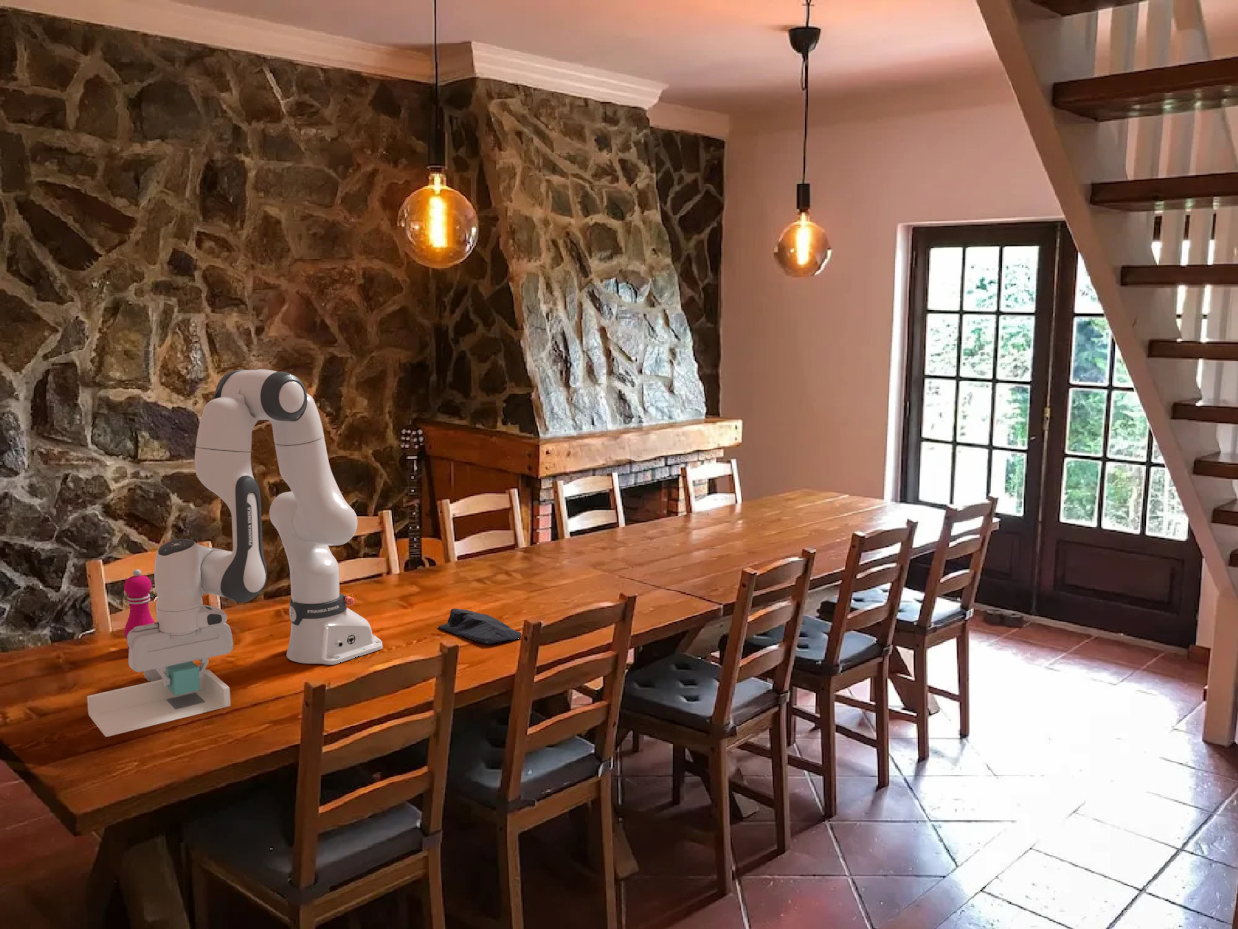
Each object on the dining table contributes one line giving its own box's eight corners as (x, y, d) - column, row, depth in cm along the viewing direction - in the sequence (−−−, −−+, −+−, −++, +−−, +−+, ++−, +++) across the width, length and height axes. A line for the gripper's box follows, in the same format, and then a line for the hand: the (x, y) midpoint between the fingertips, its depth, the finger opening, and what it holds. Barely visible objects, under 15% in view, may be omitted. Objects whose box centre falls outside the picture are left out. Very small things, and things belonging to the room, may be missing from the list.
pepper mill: (164, 648, 247) (159, 568, 244) (136, 657, 241) (130, 575, 238) (147, 642, 251) (142, 563, 248) (119, 650, 245) (113, 570, 242)
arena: (209, 690, 223) (207, 669, 222) (230, 710, 213) (229, 687, 212) (88, 719, 207) (87, 696, 207) (106, 741, 198) (104, 717, 197)
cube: (192, 682, 218) (191, 660, 217) (200, 690, 214) (198, 667, 213) (167, 688, 214) (166, 665, 213) (175, 695, 211) (173, 672, 210)
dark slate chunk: (480, 652, 250) (480, 633, 250) (434, 628, 267) (433, 611, 266) (531, 639, 260) (531, 621, 259) (483, 617, 277) (483, 600, 276)
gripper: (130, 632, 202) (134, 698, 205) (234, 613, 215) (237, 675, 218) (121, 624, 207) (125, 688, 210) (223, 605, 220) (226, 666, 223)
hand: (183, 681), depth 214 cm, fingers closed on cube, 5 cm apart
